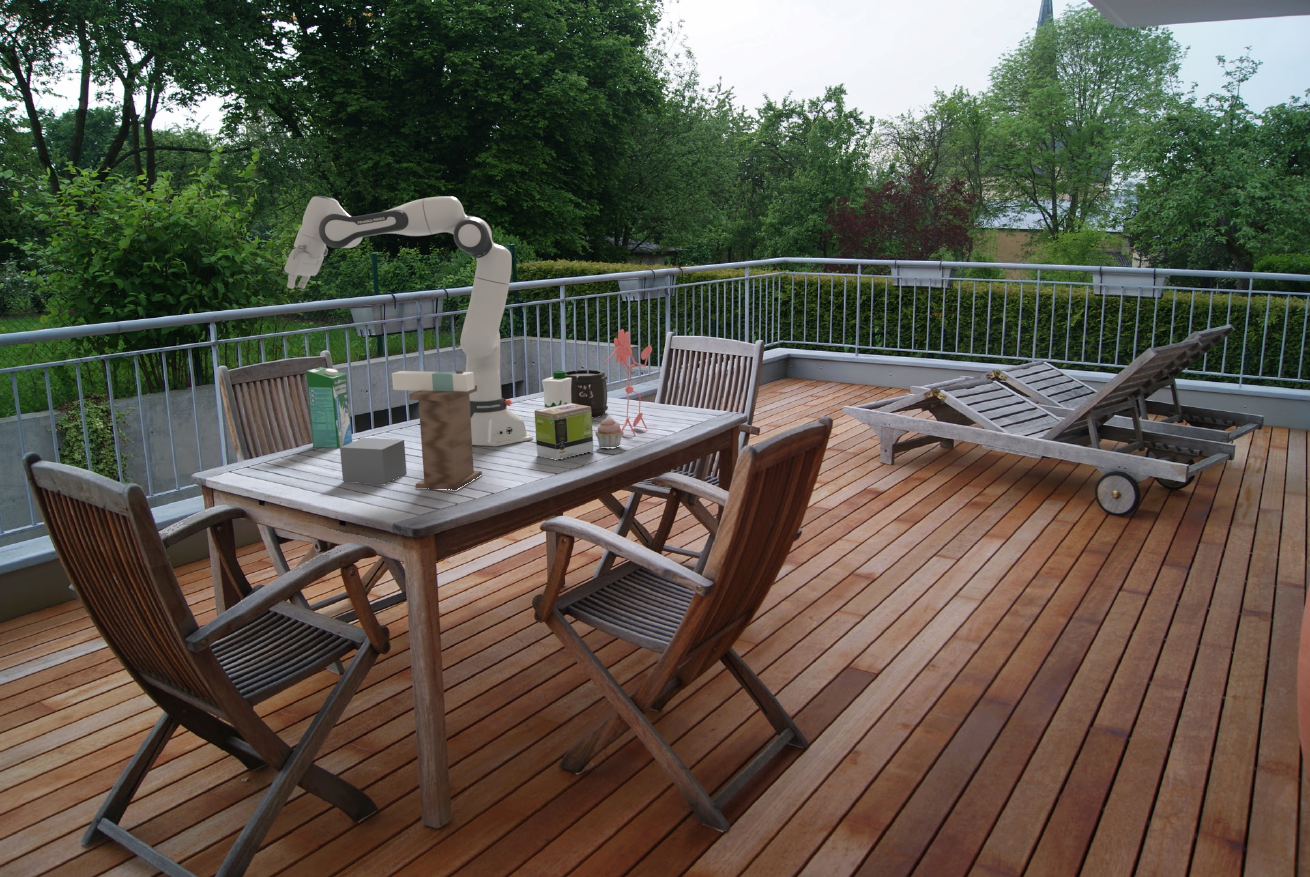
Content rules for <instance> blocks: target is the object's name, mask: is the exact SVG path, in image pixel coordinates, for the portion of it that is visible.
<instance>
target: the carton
mask: <svg viewBox="0 0 1310 877" xmlns="http://www.w3.org/2000/svg"><path fill="white" fill-rule="evenodd" d="M391 381H392V391H420V390H421V391H470V390H472V389H475V387H474V372H466V371H464V369H456V370H455V371H440V370H439V371H427V370H425V371H424V370H423V371H422V370H420V371H419V370H418V371H417V370H415V371H414V370H412V371H411V370H399V371H395V372H392V373H391Z"/></svg>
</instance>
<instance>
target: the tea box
mask: <svg viewBox="0 0 1310 877" xmlns="http://www.w3.org/2000/svg"><path fill="white" fill-rule="evenodd" d="M534 425H535V427H534V428H535V441H536V442H535V444H536V454H537V457H539V456H542V457H541V458H543V457H546V458H545V459H547V458H553V459H556V460H557V461H559V460H558V459H561V458H565V459H567V458H566V457H569V458H571V457H570V456H574V457H576V456H575V455H578V454H582V455H585V454H584V453H586V452H589V451H593V452H594V451H595V450H594V436H593V433H594V432H593V430H594V429H593V418H592V412H591V407H590V406H584V405H578V404H572V403H569V404H564V405H559V406H554V407H549V408H544V407H543V408H540V409H535V410H534ZM586 454H587V453H586ZM578 456H579V455H578ZM556 460H555V461H556ZM561 460H562V459H561Z"/></svg>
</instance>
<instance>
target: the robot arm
mask: <svg viewBox="0 0 1310 877" xmlns="http://www.w3.org/2000/svg"><path fill="white" fill-rule="evenodd" d="M439 233H448V234H452V235H453V240H454V243H455V245H456V246H457V247H458V248H459V249H460V250H461V251H463V252H464V253H465V254H468V255H470V256H471V257H472V258H475V259H476V269H475V274H474V280H473V285H472V289H471V294H470V300H469V305H468V308H467V310H466V315H465V318H464V322H463V325H462V331H461V334H460V342H459V344H460V348H461V350H462V352H463V353H464V354H465V355H466V360H465V372H474V385H477V391H476V392H473V393H471V394H469V398H470V416H471V433H472V446H487V447H488V446H489V447H500V446H504V445H511V444H516V443H520V442H526V441H532V440H533V439H534V436H533V433H531V432H529V431H527V429H526V425H525V422H524V420H523V419H522V418H521V417H520V416H518V415H517V414H516V413H514V412H513V411H511V410H510V409H508V407H511V406H512V404H513V402H512V400H510V399H509V398H507V399H506V398H503V397H502V394H501V391H502V390H501V334H500V333H501V332H500V327H501V322H502V319H503V316H504V312H505V308H506V303H507V297H508V293H509V288H510V283H511V277H512V276H511V275H512V260H513V259H512V258H513V257H512V253H511V252H510V250H509V249H508V248H506V247H505V246H503V245H500V244H497V243H495V242H494V241H493V237H494V236H493V234H494V233H493V229H492V228H491V226H490V224H489V223H488V222H487V221H485V220H484V219H482V218H480V217H476V216H473V215H470V214H466V212H465V211H464V207H463V205H462V203H461V201H460V200H459V199H458V198H457V197H455V196H451V195H450V196H449V195H448V196H446V195H445V196H433V197H425V198H421V199H416V200H412V201H410V202H407V203H403V204H401V205H399V206H396V207H393V208H390V209H388V210H384V211H381V212H379V211H378V212H374V213H369V214H364V215H357V216H352V215H350V214H349V213H348V212H347V211H346V210H345V209H344V208H343V207H342V206H341V205H340V203H339V201H338V200H336V199H335V198H332V197H327V196H322V195H315V196H313V197H312V198H311V199H310V201H309V202H308V203H307V207H306V208H305V211H304V214H303V218H302V224H301V226H300V228H299V229H298V232H297V235H296V238H295V241H294V242H293V243H294V244H293V247H294V248H293V249H291V251H290V253H289V256H288V258H287V260H286V262H285V264H284V265H285V266H284V272H285V273H287V274H288V276H287V278H288V280H287V285H286V287H287V288H288V289H291V290H292V289H295V286H296V279H297V278H298V276H301V279H300V281H299V282H298V284H297V287H298V288H299V289H305V288H306V285H307V284H308V282H309V281H310V278H311V276H312V277H315V276H316V275H318V273H319V271H320V269H321V267H322V264H323V261H324V258H325V257H326V256H327V255H328V251H329V249H328V248H327V246H328V247H330V248H332V249H341V248H342V249H351V248H355V247H357V246H358V245H360V244H361V242H362V241H363V240H364V238H366V237H371V236H377V235H382V234H383V235H384V234H394V235H395V234H396V235H403V236H409V237H420V236H421V237H422V236H430V235H435V234H439Z"/></svg>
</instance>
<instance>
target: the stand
mask: <svg viewBox="0 0 1310 877" xmlns="http://www.w3.org/2000/svg"><path fill="white" fill-rule="evenodd" d="M474 387H475V389H472V390H470V391H421V390H416V391H414V392H411V393H409V394H408V395H409V396H408V397H409V400H411V401H418V412H419V413H418V414H419V426H420V442H421V454H422V456H421V457H422V467H423V468H422V469H423V470H422V471H423V479H422V480H420V481H418V482H416V483H415V489H416V488H427V489H428V488H429V489H447V490H448V489H450V490H451V489H452V490H457V489H458V488H460V487H462V486H464V485H465V484H467V483H469V482H471V481H472V480H473V479H476V478H477V477H479V476H480V475H482V476H483V472H482V470H474V455H473V454H474V453H473V452H474V451H473V445H472V433H471V416H470V398H469V394H471V393H473V392H476V391H477V385H474ZM476 480H477V479H476Z"/></svg>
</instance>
